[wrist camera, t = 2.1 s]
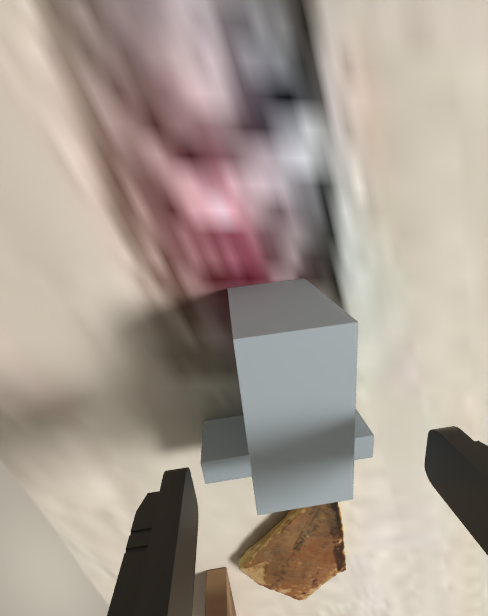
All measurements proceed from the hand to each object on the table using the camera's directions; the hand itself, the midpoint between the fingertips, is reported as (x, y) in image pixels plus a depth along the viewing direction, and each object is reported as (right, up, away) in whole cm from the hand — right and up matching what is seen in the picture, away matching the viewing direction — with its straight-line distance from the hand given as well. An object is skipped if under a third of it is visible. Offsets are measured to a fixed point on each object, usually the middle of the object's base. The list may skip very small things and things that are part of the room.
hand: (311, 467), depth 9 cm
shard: (+1, -11, +12) cm, 17 cm away
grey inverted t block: (-1, +3, +7) cm, 7 cm away
